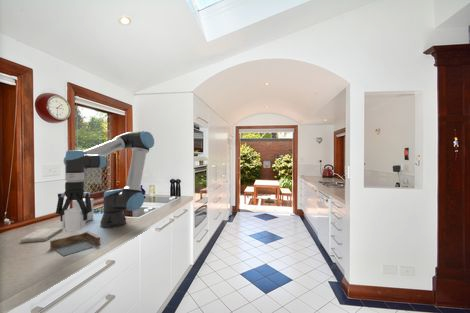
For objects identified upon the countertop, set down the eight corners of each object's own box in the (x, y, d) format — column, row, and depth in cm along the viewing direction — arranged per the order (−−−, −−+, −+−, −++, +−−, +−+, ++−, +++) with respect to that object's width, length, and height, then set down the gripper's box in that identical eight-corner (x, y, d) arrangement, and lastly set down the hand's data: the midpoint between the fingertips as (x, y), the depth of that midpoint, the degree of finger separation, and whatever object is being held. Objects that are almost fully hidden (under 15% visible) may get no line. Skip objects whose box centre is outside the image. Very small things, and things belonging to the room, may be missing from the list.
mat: (83, 241, 114) (83, 241, 114) (92, 247, 107) (92, 246, 107) (54, 249, 104) (54, 248, 104) (63, 256, 97) (63, 255, 97)
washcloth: (64, 230, 132) (64, 225, 132) (47, 242, 114) (47, 236, 114) (41, 232, 128) (41, 227, 128) (19, 244, 111) (19, 238, 111)
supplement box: (93, 219, 154) (94, 198, 154) (83, 222, 146) (83, 201, 146) (83, 218, 156) (83, 197, 156) (71, 222, 147) (71, 200, 147)
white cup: (70, 233, 100) (70, 212, 100) (60, 231, 103) (60, 210, 103) (87, 228, 108) (87, 208, 108) (77, 226, 110) (77, 207, 111)
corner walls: (88, 238, 118) (88, 231, 118) (100, 244, 110) (100, 237, 110) (50, 248, 105) (50, 240, 105) (60, 256, 97) (60, 248, 97)
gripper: (46, 182, 100) (45, 230, 100) (93, 181, 104) (92, 228, 103) (56, 180, 107) (55, 225, 107) (100, 180, 111) (99, 224, 111)
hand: (74, 227), depth 105 cm, fingers closed on white cup, 7 cm apart
